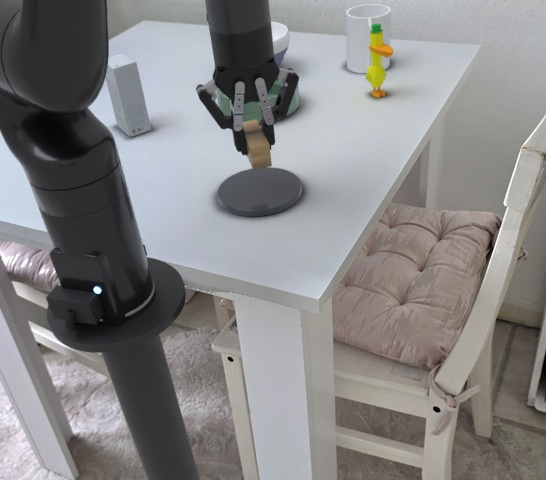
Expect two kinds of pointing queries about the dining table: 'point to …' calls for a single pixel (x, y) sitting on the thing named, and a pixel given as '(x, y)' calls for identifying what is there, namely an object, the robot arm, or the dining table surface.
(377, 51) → the toy figure
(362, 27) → the cup
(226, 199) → the plate
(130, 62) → the cosmetic box
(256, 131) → the clip
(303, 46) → the dining table surface
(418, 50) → the dining table surface
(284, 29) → the bowl
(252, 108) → the green bowl
